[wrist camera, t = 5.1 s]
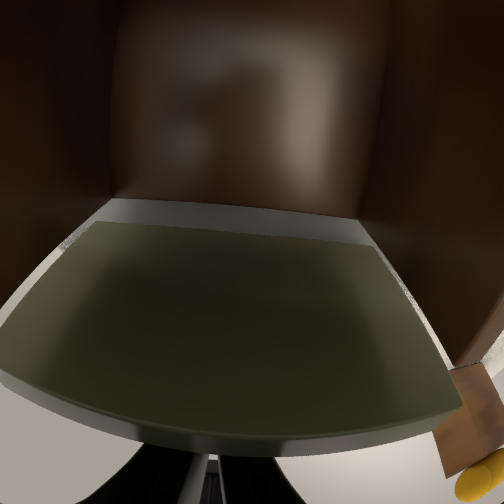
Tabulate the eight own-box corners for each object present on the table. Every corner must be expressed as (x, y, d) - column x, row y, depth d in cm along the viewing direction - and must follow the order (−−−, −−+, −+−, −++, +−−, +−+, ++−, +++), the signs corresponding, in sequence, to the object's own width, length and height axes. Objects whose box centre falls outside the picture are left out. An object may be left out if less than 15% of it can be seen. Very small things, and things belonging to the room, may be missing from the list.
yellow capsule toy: (515, 435, 9) (525, 464, 6) (490, 453, 11) (498, 480, 8) (471, 464, 9) (480, 501, 6) (442, 480, 11) (449, 513, 7)
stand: (481, 361, 16) (516, 434, 9) (454, 392, 19) (479, 460, 11) (450, 369, 16) (485, 456, 8) (421, 401, 19) (445, 479, 11)
